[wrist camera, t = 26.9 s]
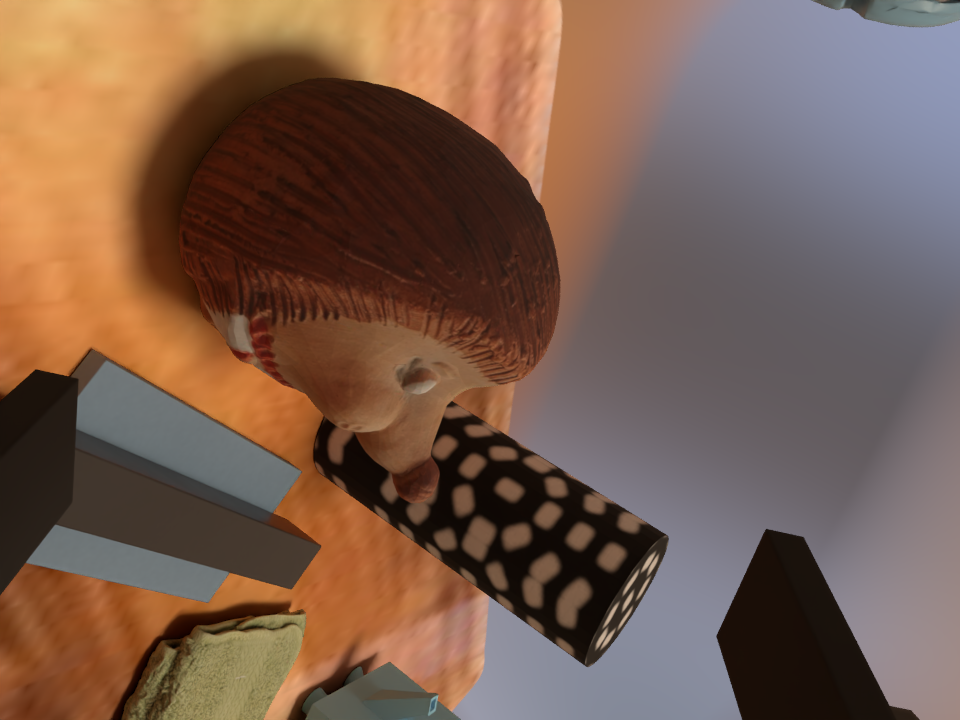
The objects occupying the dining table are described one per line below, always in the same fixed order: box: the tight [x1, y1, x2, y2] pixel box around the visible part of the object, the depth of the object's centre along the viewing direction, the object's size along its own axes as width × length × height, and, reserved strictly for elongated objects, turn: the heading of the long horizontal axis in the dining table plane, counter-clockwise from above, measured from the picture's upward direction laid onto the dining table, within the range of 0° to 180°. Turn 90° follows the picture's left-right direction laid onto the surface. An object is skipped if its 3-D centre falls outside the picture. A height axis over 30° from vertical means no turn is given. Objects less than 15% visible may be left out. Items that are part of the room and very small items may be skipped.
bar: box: [55, 429, 321, 589], centre depth 42 cm, size 22×3×3 cm, turn 26°
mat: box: [26, 350, 302, 603], centre depth 43 cm, size 18×9×1 cm, turn 25°
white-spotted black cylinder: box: [314, 401, 669, 667], centre depth 52 cm, size 8×8×20 cm
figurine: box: [179, 78, 560, 503], centre depth 37 cm, size 14×16×15 cm
